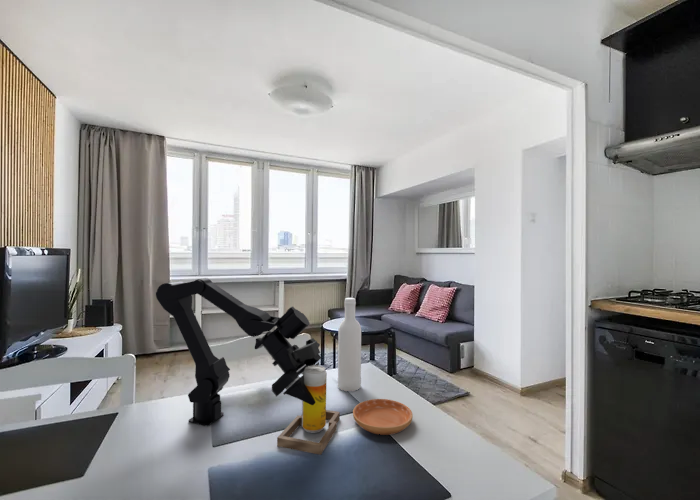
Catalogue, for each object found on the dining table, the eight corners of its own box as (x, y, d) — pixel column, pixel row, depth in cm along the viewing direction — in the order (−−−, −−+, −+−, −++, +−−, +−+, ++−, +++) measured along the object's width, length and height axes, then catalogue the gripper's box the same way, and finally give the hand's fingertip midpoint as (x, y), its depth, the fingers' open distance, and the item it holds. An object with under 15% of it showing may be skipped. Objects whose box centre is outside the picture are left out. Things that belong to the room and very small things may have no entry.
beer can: (326, 433, 81) (327, 372, 82) (302, 434, 80) (303, 373, 80) (324, 420, 87) (325, 364, 88) (301, 422, 86) (302, 365, 86)
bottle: (339, 381, 115) (340, 296, 115) (361, 382, 114) (362, 297, 114) (336, 391, 107) (337, 299, 107) (360, 392, 106) (360, 300, 106)
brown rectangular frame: (277, 446, 76) (277, 437, 76) (305, 413, 92) (305, 406, 92) (320, 454, 73) (321, 445, 73) (342, 419, 89) (342, 412, 89)
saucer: (343, 431, 84) (343, 419, 84) (364, 404, 98) (364, 394, 99) (405, 445, 78) (405, 432, 78) (417, 414, 93) (417, 404, 93)
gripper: (284, 340, 76) (327, 394, 73) (315, 323, 94) (351, 366, 91) (254, 369, 78) (294, 423, 75) (290, 348, 96) (324, 391, 93)
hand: (319, 398), depth 84 cm, fingers closed on beer can, 6 cm apart
